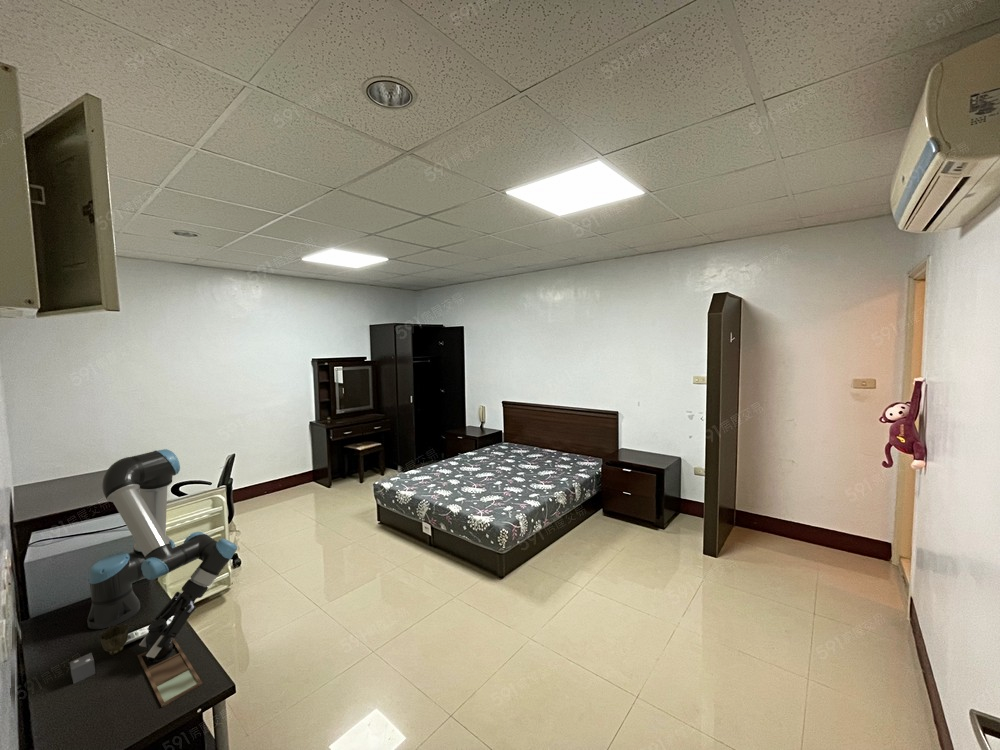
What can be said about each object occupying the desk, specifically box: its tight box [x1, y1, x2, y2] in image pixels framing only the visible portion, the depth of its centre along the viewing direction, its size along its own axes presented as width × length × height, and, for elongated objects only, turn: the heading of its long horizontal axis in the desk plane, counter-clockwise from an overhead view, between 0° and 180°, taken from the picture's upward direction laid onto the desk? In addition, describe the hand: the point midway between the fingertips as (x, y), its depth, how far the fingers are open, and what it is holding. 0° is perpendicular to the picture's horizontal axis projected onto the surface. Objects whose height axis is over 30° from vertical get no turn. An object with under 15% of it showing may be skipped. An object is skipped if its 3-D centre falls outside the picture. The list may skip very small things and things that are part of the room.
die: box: [69, 652, 96, 684], centre depth 133 cm, size 5×5×5 cm
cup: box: [99, 623, 130, 655], centre depth 142 cm, size 8×7×8 cm
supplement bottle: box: [145, 619, 174, 664], centre depth 140 cm, size 7×7×12 cm
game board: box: [137, 638, 203, 708], centre depth 135 cm, size 31×10×1 cm, turn 52°
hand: (146, 651), depth 138 cm, fingers open, 7 cm apart
